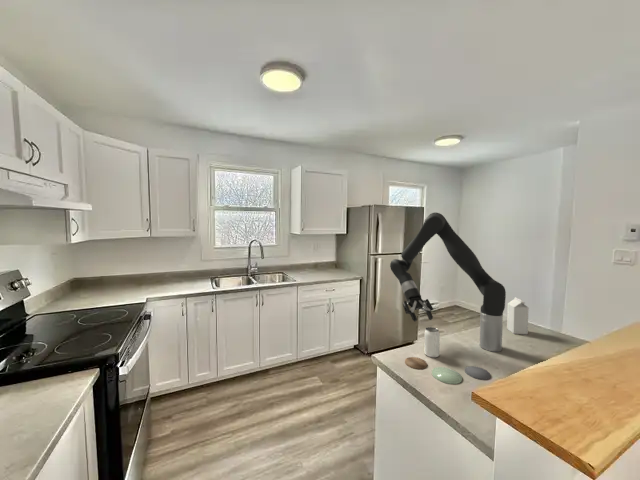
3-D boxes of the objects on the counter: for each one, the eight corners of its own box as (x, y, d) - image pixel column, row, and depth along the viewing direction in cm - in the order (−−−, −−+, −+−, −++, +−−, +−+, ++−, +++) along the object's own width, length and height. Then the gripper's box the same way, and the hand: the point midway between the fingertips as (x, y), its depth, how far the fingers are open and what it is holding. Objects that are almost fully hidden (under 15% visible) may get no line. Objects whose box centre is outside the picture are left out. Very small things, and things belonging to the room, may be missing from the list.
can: (440, 358, 122) (441, 332, 122) (425, 357, 123) (426, 331, 123) (437, 352, 129) (437, 327, 128) (423, 350, 130) (423, 326, 129)
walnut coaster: (413, 357, 124) (413, 355, 124) (431, 365, 117) (431, 363, 117) (400, 363, 119) (400, 360, 119) (418, 372, 112) (418, 369, 112)
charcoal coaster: (471, 366, 116) (471, 363, 116) (494, 375, 109) (494, 373, 109) (460, 372, 111) (460, 370, 111) (483, 383, 104) (483, 380, 104)
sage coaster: (442, 366, 116) (442, 364, 116) (467, 379, 107) (467, 376, 107) (425, 374, 110) (425, 372, 110) (451, 388, 101) (451, 385, 101)
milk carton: (513, 334, 149) (514, 300, 148) (506, 329, 156) (507, 296, 155) (527, 334, 148) (528, 300, 147) (520, 329, 155) (521, 297, 154)
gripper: (401, 288, 138) (413, 317, 127) (425, 286, 141) (440, 315, 130) (395, 295, 143) (407, 324, 133) (419, 294, 146) (432, 322, 136)
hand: (423, 320), depth 132 cm, fingers open, 8 cm apart
